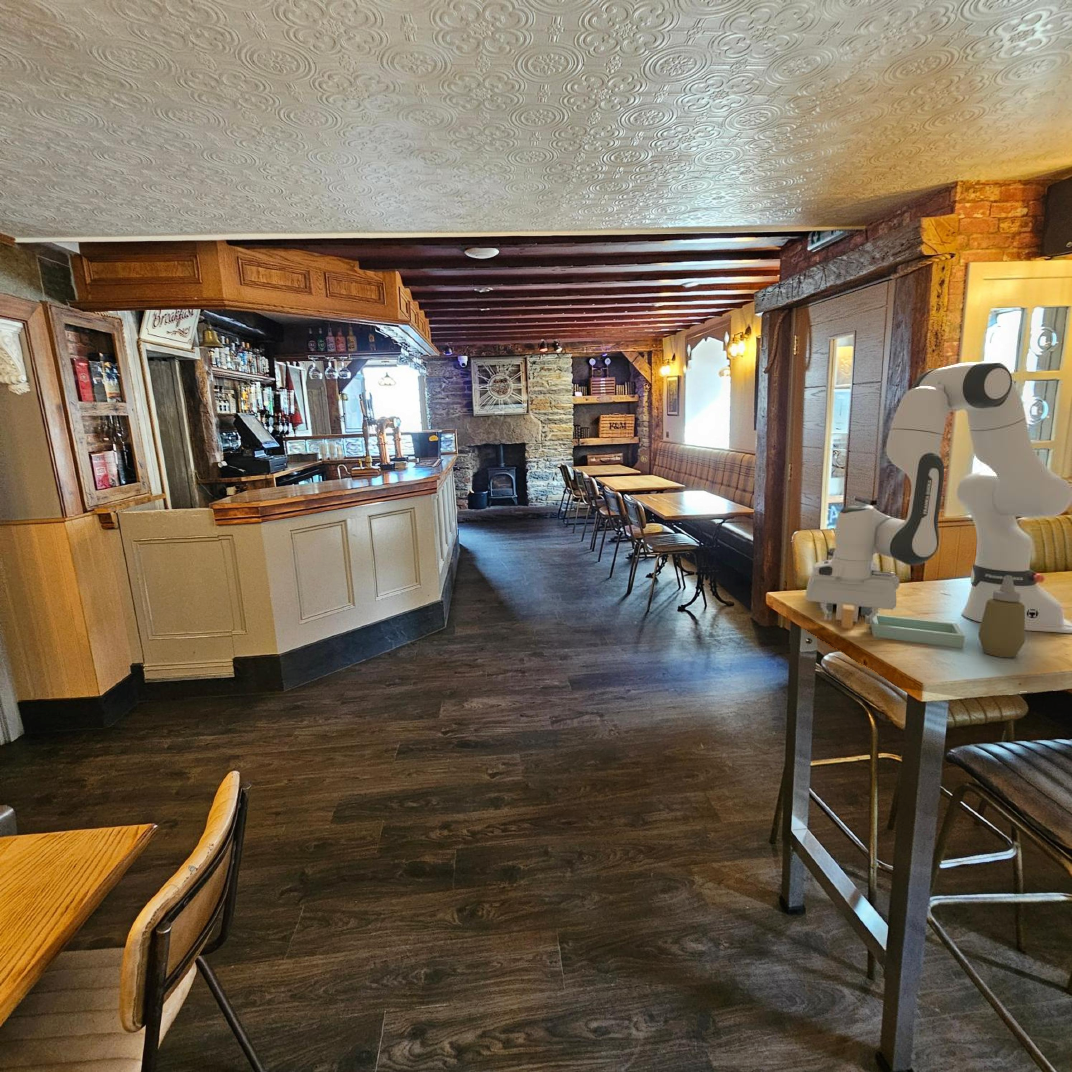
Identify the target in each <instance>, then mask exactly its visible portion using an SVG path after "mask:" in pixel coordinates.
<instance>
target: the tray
mask: <svg viewBox="0 0 1072 1072" xmlns="http://www.w3.org/2000/svg"><path fill="white" fill-rule="evenodd" d="M870 629H871V635H872V637H873V638H878V639H886V640H887V639H888V640H894V641H902V642H903V641H904V642H911V643H918V644H925V645H926V644H927V645H933V646H941V647H942V646H943V647H949V648H956V649H964V642H965V634H964V633H963V631H962V630H961V628H960V626H959V625H958V623H956V622H946V621H939V620H929V619H922V618H921V619H919V618H913V617H903V616H894V615H893V616H892V615H883V614H876V615H875V617H874V618H872V625H871V624H870Z"/></svg>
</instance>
